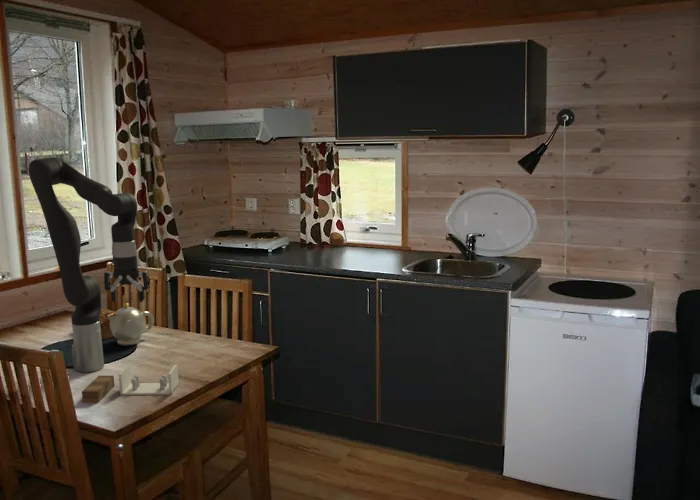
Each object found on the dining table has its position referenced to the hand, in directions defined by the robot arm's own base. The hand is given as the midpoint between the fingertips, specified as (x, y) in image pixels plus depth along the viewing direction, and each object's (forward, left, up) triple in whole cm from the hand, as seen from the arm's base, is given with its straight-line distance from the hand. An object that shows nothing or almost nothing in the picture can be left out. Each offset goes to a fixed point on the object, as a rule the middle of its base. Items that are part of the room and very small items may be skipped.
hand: (128, 301), depth 212 cm
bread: (-30, +51, -28) cm, 65 cm away
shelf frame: (+8, -9, -27) cm, 30 cm away
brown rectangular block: (-7, -12, -28) cm, 31 cm away
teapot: (-13, +39, -28) cm, 49 cm away
